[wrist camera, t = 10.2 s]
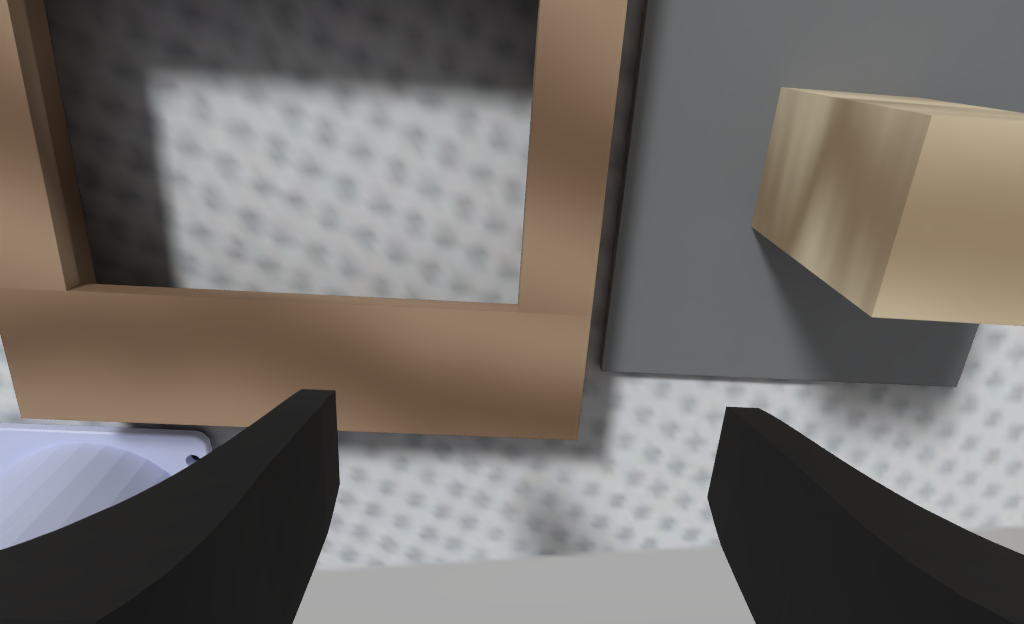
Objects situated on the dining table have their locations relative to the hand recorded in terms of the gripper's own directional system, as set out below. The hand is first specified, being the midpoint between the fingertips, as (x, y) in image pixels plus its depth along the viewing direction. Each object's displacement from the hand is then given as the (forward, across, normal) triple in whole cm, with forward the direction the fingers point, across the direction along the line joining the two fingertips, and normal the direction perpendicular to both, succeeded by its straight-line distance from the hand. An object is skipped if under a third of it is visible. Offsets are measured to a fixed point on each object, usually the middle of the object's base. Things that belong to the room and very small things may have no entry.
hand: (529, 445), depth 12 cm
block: (+9, -9, -4) cm, 13 cm away
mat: (+9, -9, -4) cm, 14 cm away
